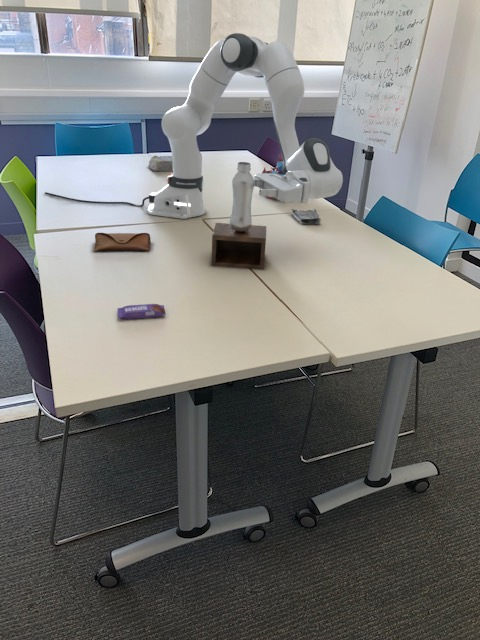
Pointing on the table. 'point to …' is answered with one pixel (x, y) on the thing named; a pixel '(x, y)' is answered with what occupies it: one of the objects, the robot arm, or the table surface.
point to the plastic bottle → (242, 198)
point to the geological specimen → (161, 163)
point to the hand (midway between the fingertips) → (253, 188)
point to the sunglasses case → (122, 242)
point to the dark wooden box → (238, 247)
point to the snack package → (141, 311)
